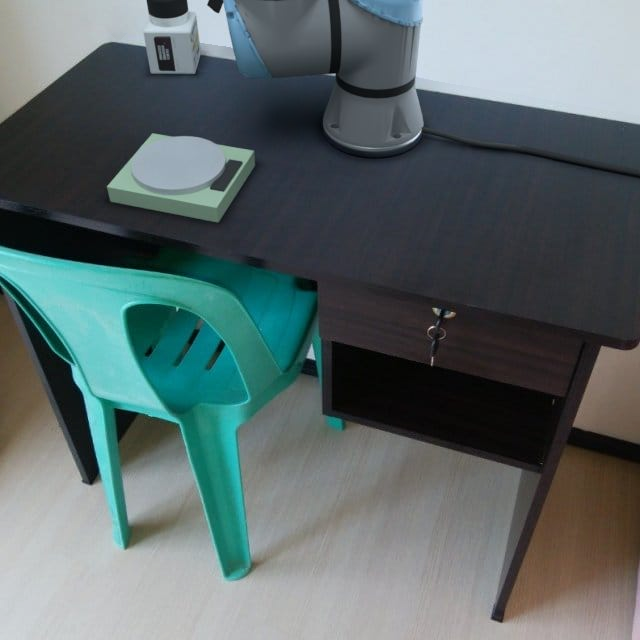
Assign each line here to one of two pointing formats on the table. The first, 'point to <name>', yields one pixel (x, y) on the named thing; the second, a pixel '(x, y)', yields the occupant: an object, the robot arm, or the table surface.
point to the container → (171, 37)
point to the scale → (183, 176)
